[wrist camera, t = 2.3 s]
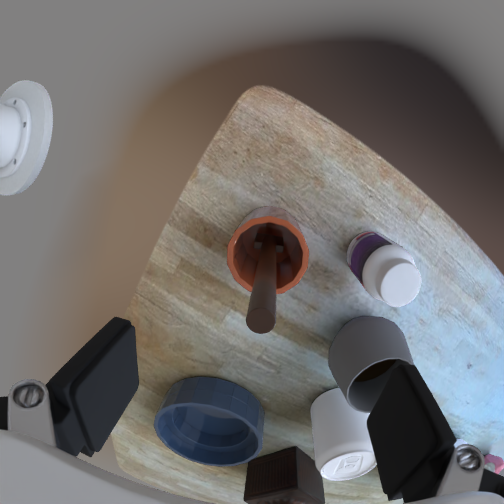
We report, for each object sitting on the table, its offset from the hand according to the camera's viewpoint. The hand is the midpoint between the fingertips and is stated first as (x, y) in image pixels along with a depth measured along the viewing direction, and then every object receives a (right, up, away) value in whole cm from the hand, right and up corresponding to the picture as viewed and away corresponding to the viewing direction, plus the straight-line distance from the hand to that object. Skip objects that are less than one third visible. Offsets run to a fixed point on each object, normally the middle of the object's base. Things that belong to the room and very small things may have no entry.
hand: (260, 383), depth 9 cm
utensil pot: (+2, +6, +22) cm, 23 cm away
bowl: (-6, -20, +30) cm, 36 cm away
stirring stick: (+2, +6, +21) cm, 22 cm away
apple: (+65, -53, +33) cm, 90 cm away
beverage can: (+12, -18, +28) cm, 35 cm away
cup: (+13, -6, +25) cm, 29 cm away
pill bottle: (+13, +4, +22) cm, 26 cm away
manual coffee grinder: (+7, -37, +33) cm, 50 cm away
